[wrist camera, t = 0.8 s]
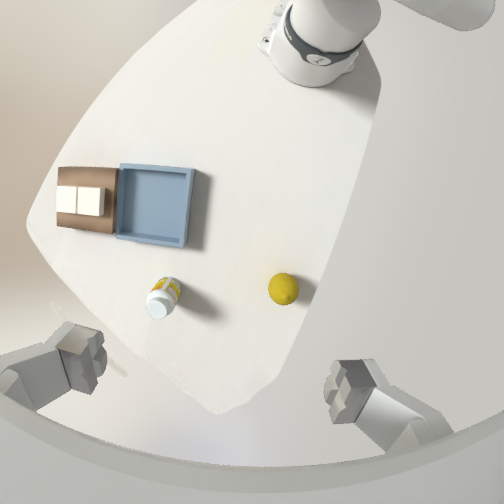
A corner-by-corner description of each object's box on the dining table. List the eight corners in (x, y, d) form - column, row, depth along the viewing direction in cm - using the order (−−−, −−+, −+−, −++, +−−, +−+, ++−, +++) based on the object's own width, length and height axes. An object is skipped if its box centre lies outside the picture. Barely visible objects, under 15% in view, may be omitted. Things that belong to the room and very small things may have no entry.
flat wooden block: (69, 166, 46) (58, 167, 43) (124, 168, 47) (116, 168, 44) (66, 222, 50) (56, 226, 46) (120, 229, 51) (112, 233, 47)
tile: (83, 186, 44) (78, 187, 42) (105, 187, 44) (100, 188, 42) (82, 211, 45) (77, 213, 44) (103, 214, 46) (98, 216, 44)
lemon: (299, 274, 55) (308, 291, 47) (286, 296, 56) (292, 316, 48) (275, 262, 54) (280, 278, 46) (261, 286, 55) (264, 305, 47)
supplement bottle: (184, 280, 54) (173, 302, 45) (179, 302, 56) (168, 327, 47) (158, 272, 54) (143, 293, 45) (155, 295, 55) (140, 318, 46)
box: (125, 163, 47) (117, 163, 44) (195, 169, 48) (191, 169, 45) (120, 233, 51) (113, 238, 48) (186, 242, 52) (183, 248, 49)
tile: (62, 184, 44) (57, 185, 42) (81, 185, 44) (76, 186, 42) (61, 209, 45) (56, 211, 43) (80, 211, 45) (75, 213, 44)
